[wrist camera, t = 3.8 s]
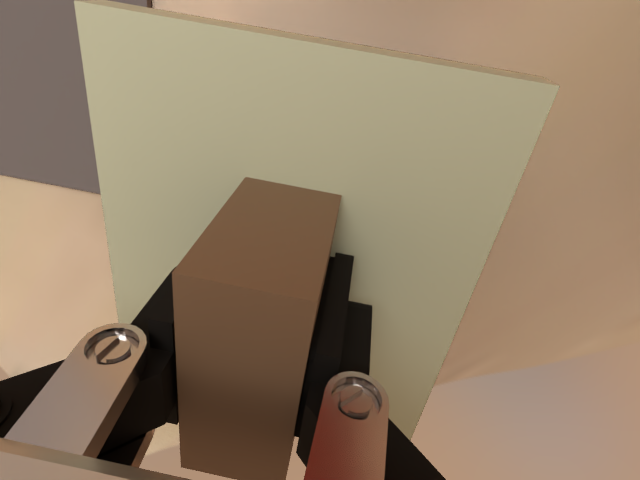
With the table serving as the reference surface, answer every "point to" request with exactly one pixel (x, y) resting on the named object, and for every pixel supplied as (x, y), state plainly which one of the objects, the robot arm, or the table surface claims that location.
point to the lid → (293, 206)
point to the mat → (45, 95)
